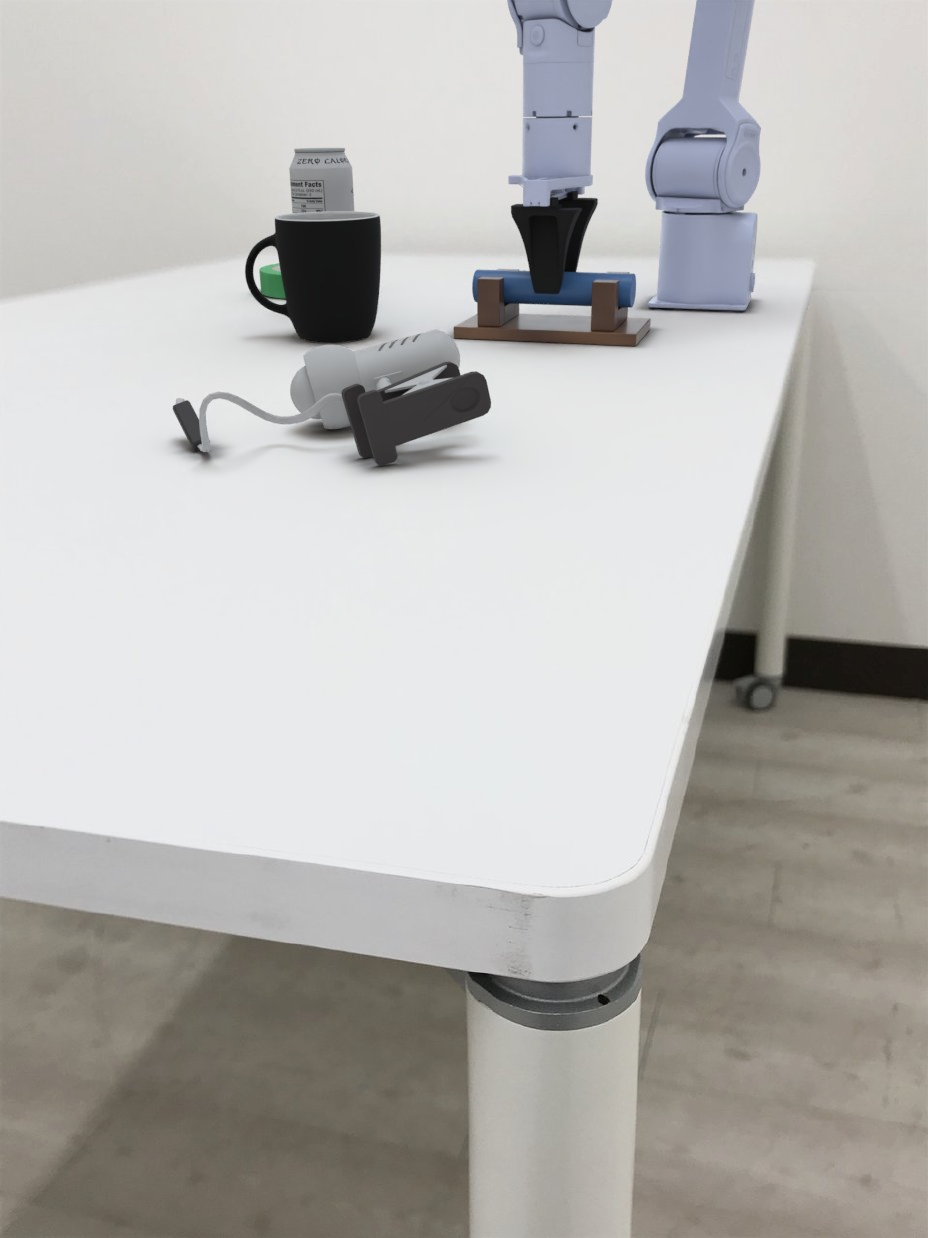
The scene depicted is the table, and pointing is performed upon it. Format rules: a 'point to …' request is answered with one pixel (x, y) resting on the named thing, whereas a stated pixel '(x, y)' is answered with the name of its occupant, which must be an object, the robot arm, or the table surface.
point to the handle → (571, 293)
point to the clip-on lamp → (371, 394)
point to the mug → (325, 273)
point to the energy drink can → (321, 180)
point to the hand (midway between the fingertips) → (554, 288)
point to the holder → (552, 319)
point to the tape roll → (271, 281)
